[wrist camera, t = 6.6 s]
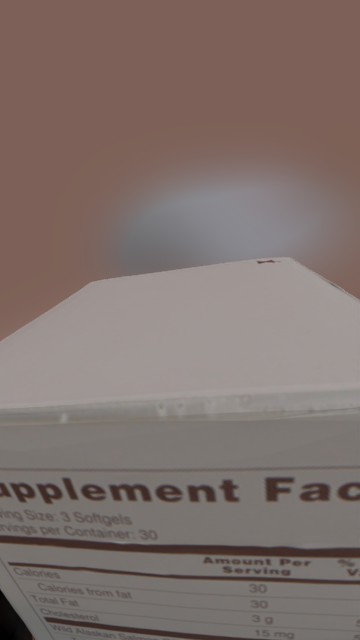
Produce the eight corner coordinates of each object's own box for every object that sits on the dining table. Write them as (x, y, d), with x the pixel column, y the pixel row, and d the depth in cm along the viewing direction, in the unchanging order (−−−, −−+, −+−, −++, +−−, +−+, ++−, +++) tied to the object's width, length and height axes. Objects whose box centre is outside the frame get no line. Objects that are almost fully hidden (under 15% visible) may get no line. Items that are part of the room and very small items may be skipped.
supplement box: (152, 506, 15) (90, 277, 10) (297, 508, 14) (299, 250, 9) (101, 761, 8) (-151, 413, 3) (382, 808, 7) (556, 374, 2)
